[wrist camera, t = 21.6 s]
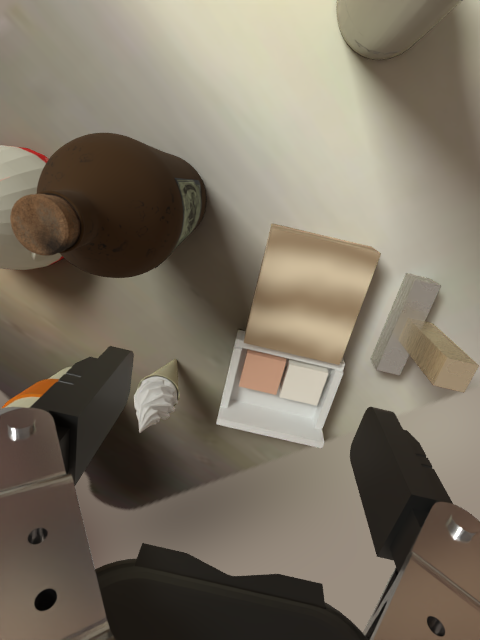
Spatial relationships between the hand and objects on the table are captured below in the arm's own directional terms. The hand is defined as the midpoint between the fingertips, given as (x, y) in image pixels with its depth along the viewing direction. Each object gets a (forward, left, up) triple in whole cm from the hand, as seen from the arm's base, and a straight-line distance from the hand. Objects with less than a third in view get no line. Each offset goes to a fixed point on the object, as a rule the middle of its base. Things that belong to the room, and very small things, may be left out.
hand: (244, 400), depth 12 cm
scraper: (+6, +19, -33) cm, 39 cm away
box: (+18, +6, -33) cm, 38 cm away
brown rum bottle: (-2, -12, -33) cm, 35 cm away
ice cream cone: (+19, -8, -33) cm, 39 cm away
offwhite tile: (+16, +9, -32) cm, 37 cm away
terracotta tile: (+16, +4, -32) cm, 36 cm away
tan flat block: (+5, +6, -33) cm, 34 cm away
